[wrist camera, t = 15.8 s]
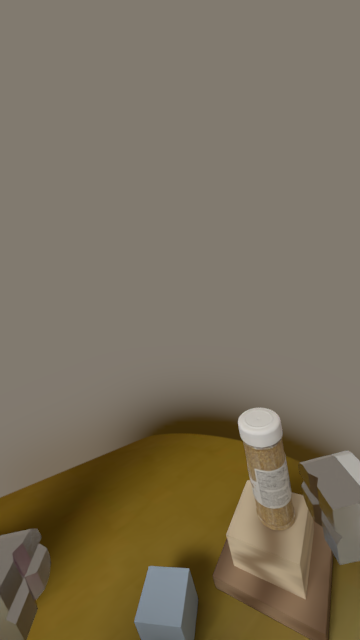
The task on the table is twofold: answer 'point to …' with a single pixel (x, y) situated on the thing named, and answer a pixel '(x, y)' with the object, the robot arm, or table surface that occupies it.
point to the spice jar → (267, 467)
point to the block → (167, 605)
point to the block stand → (278, 567)
